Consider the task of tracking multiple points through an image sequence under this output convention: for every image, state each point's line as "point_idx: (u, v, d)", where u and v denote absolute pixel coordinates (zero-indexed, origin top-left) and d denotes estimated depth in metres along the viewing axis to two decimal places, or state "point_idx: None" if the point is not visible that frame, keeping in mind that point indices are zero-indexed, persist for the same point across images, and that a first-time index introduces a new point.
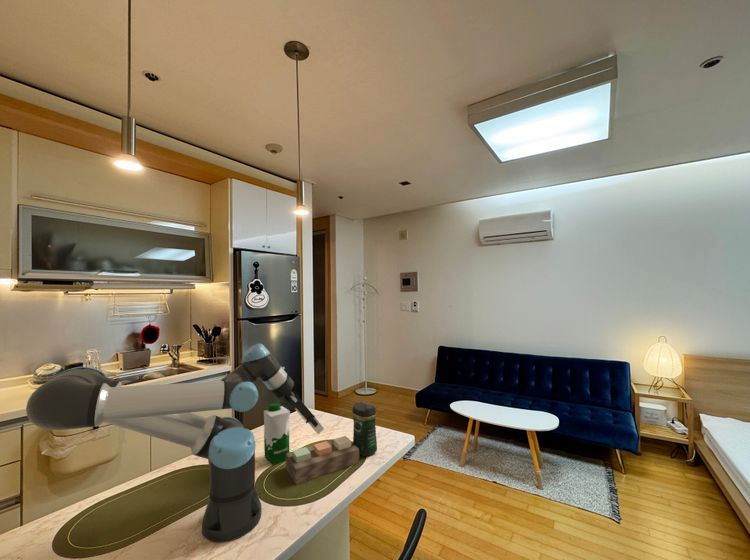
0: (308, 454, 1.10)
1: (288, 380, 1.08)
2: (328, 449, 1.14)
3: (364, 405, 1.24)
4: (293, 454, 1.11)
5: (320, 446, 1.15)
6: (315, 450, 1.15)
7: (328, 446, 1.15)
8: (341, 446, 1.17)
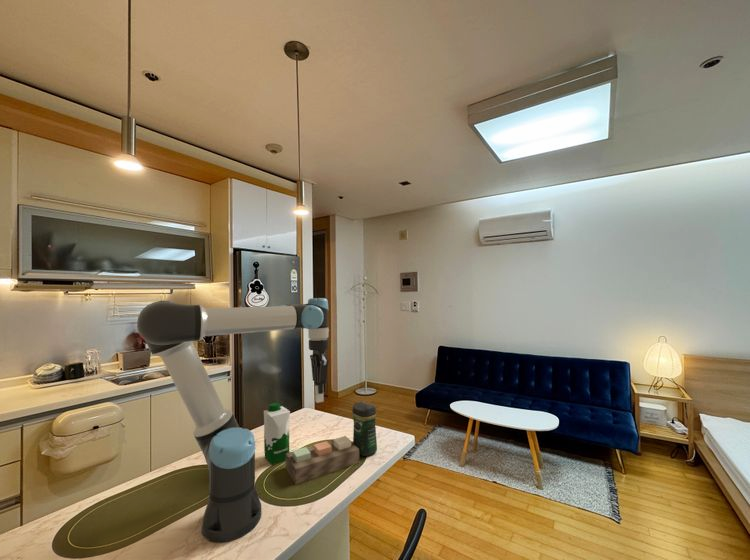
0: (308, 454, 1.10)
1: (327, 341, 1.19)
2: (328, 449, 1.14)
3: (364, 405, 1.24)
4: (293, 454, 1.11)
5: (320, 446, 1.15)
6: (315, 450, 1.15)
7: (328, 446, 1.15)
8: (341, 446, 1.17)
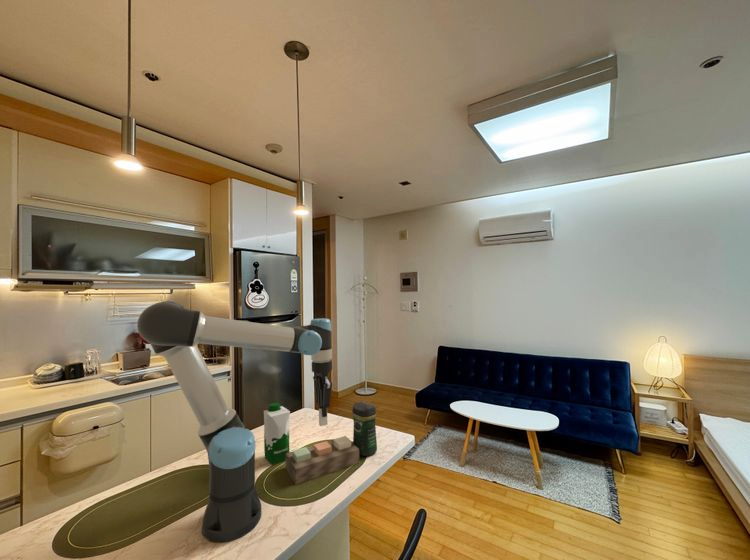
0: (308, 454, 1.10)
1: (331, 362, 1.16)
2: (328, 449, 1.14)
3: (364, 405, 1.24)
4: (293, 454, 1.11)
5: (320, 446, 1.15)
6: (315, 450, 1.15)
7: (328, 446, 1.15)
8: (341, 446, 1.17)
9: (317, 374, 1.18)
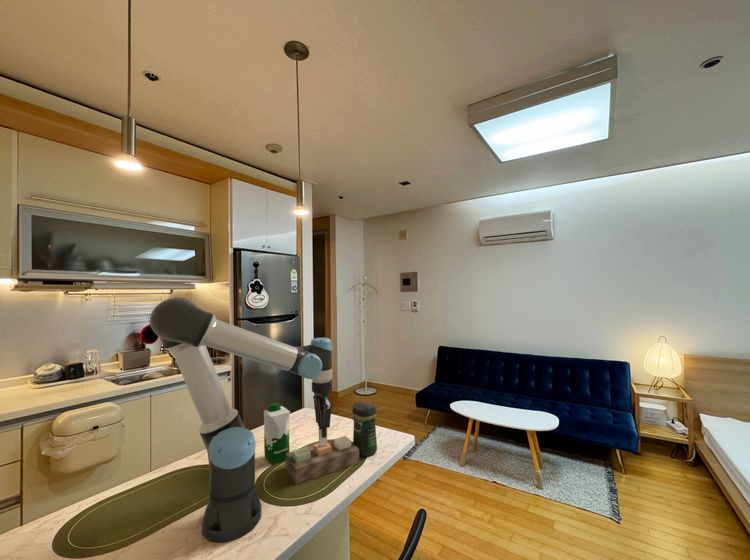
0: (308, 454, 1.10)
1: (331, 383, 1.16)
2: (328, 449, 1.14)
3: (364, 405, 1.24)
4: (293, 454, 1.11)
5: None
6: (315, 450, 1.15)
7: (328, 447, 1.15)
8: (341, 446, 1.17)
9: (317, 394, 1.17)
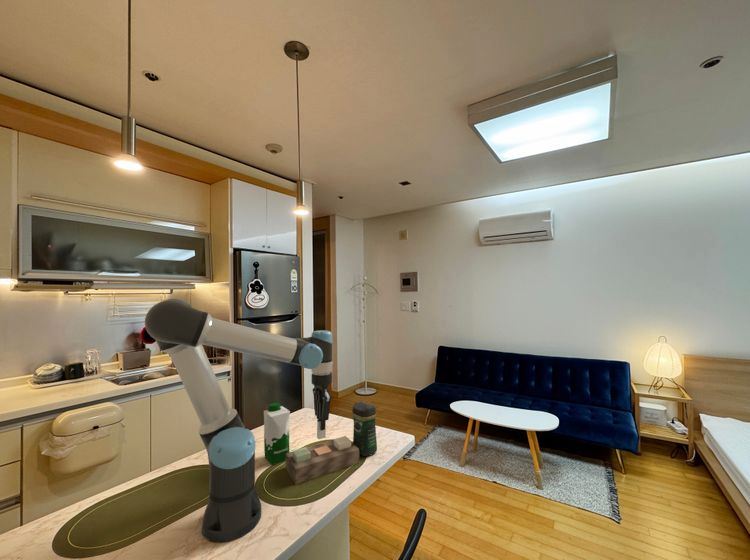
0: (308, 454, 1.10)
1: (331, 375, 1.16)
2: (328, 453, 1.14)
3: (364, 405, 1.24)
4: (293, 454, 1.11)
5: (320, 450, 1.15)
6: None
7: (328, 451, 1.15)
8: (341, 446, 1.17)
9: (317, 386, 1.18)
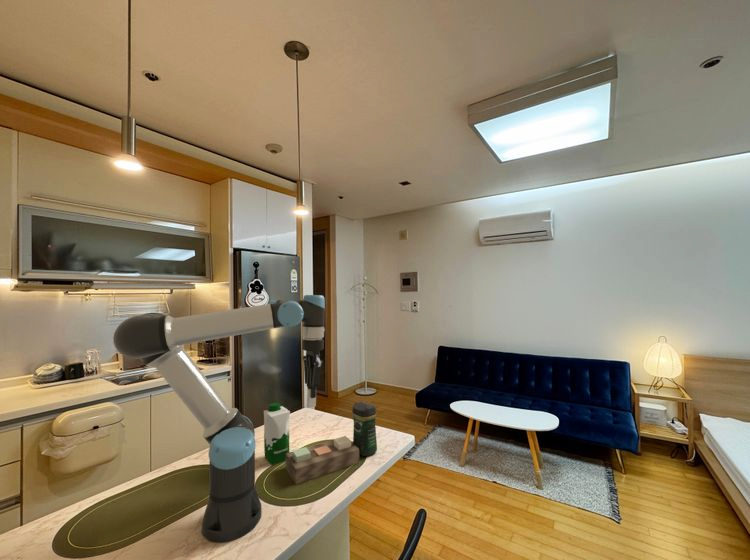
0: (308, 454, 1.10)
1: (322, 341, 1.10)
2: (328, 453, 1.14)
3: (364, 405, 1.24)
4: (293, 454, 1.11)
5: (320, 450, 1.15)
6: None
7: (328, 451, 1.15)
8: (341, 446, 1.17)
9: (307, 353, 1.12)
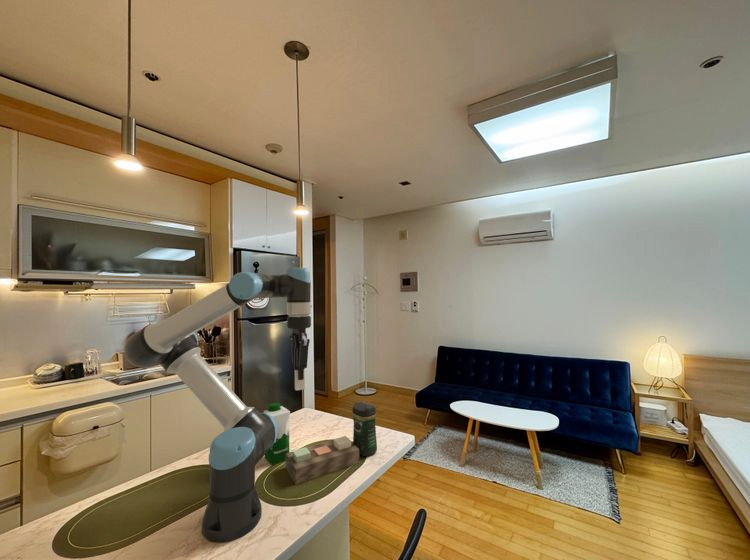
0: (308, 454, 1.10)
1: (309, 318, 1.01)
2: (328, 453, 1.14)
3: (364, 405, 1.24)
4: (293, 454, 1.11)
5: (320, 450, 1.15)
6: None
7: (328, 451, 1.15)
8: (341, 446, 1.17)
9: (294, 332, 1.03)
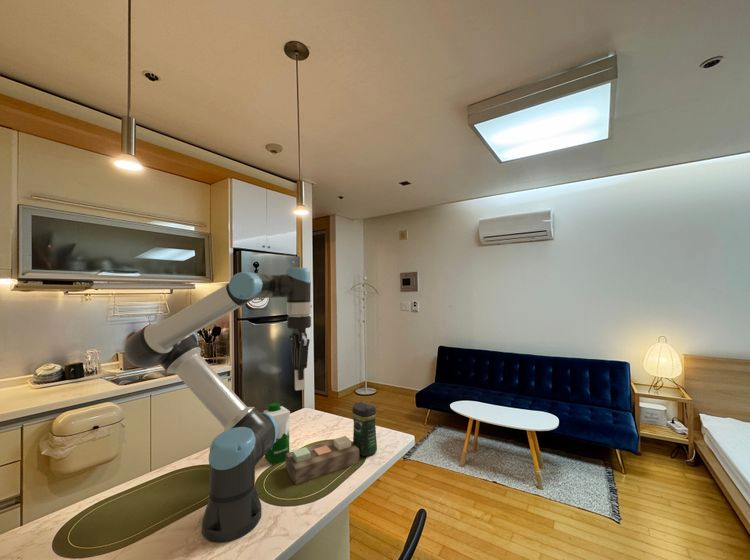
0: (308, 454, 1.10)
1: (309, 318, 1.01)
2: (328, 453, 1.14)
3: (364, 405, 1.24)
4: (293, 454, 1.11)
5: (320, 450, 1.15)
6: None
7: (328, 451, 1.15)
8: (341, 446, 1.17)
9: (294, 332, 1.03)
